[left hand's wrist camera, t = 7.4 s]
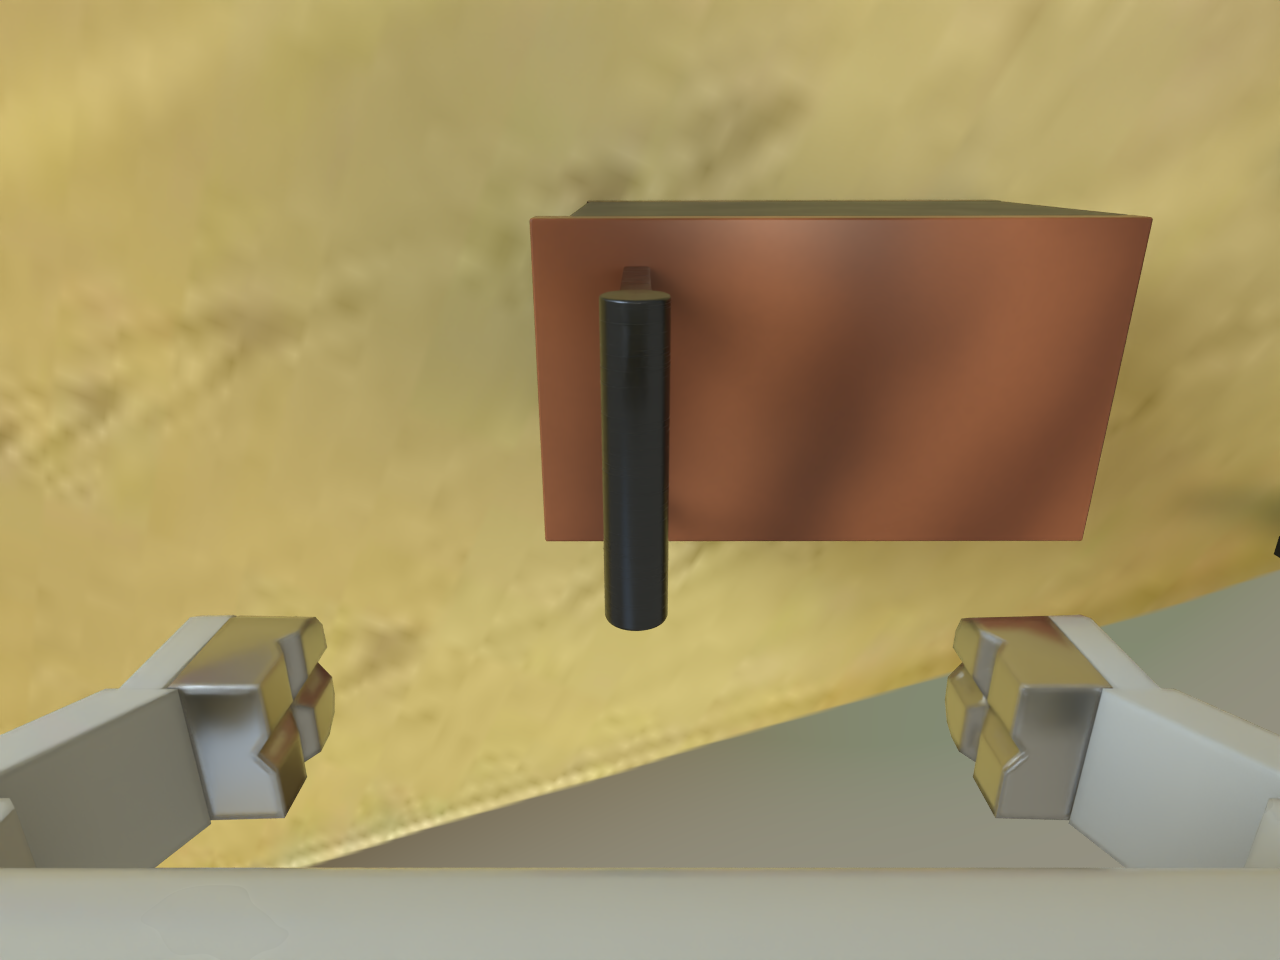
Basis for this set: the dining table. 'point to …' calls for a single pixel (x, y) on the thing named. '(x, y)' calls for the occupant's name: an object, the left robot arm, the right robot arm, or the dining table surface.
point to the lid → (822, 380)
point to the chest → (821, 208)
